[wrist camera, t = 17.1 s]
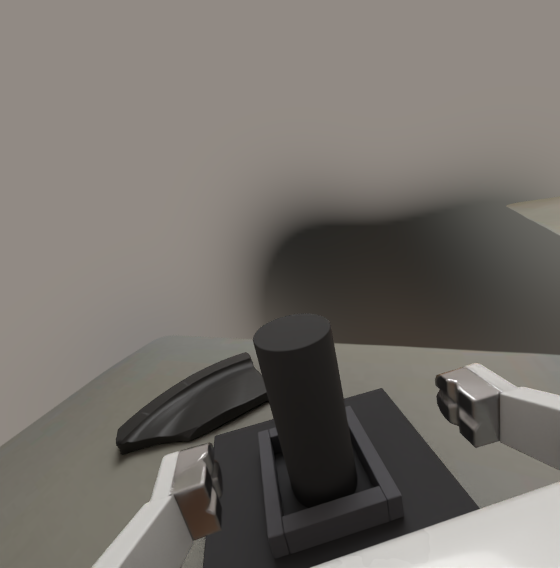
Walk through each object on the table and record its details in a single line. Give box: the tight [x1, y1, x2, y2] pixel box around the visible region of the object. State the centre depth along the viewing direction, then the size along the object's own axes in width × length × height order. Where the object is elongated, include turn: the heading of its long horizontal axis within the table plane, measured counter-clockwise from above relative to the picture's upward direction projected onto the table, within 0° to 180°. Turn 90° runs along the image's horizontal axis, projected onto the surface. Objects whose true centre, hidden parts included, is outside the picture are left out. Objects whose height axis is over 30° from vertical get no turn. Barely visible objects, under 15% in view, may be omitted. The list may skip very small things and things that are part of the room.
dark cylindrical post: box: [253, 314, 357, 508], centre depth 16 cm, size 4×4×10 cm
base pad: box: [203, 388, 480, 568], centre depth 18 cm, size 14×12×2 cm
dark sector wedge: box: [116, 352, 269, 455], centre depth 28 cm, size 8×14×2 cm, turn 114°
